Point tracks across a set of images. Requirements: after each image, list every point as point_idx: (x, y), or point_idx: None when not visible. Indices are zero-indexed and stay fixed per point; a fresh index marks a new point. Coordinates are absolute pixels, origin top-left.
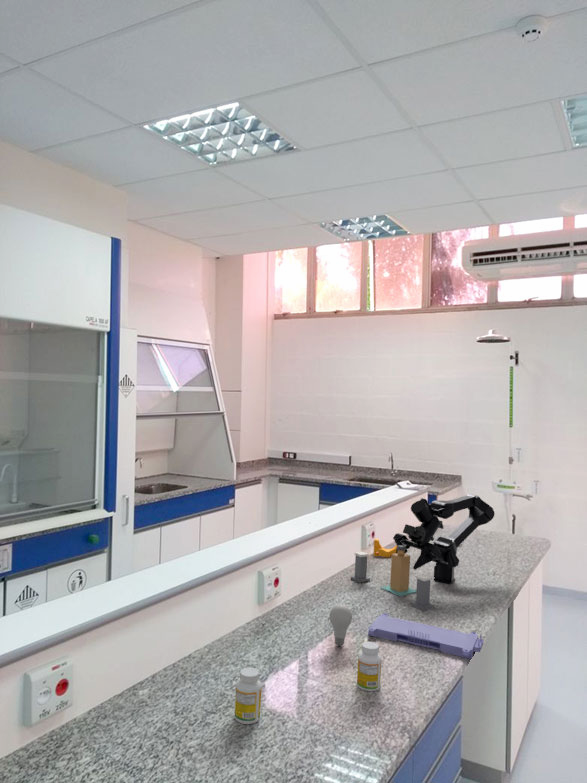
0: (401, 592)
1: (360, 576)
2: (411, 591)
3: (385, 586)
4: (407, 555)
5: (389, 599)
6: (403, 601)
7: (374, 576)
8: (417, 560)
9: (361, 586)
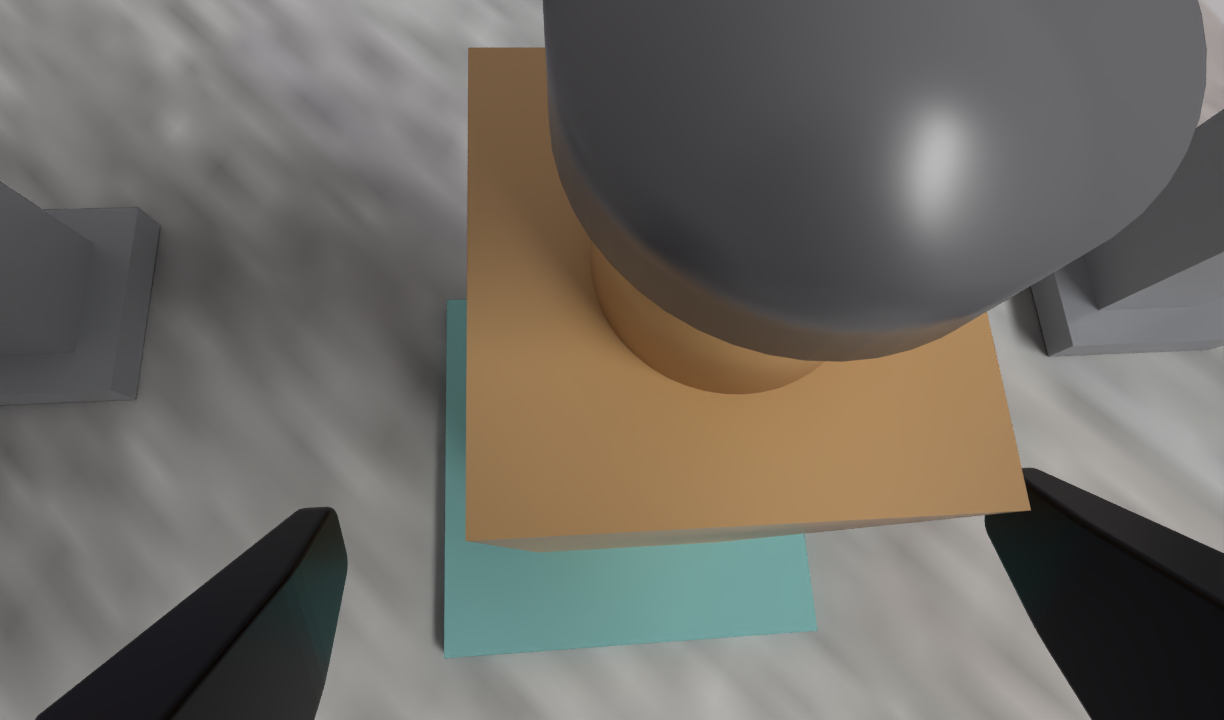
0: None
1: None
2: (476, 550)
3: None
4: (560, 460)
5: (437, 146)
6: (305, 236)
7: (1207, 538)
8: (167, 671)
9: None
